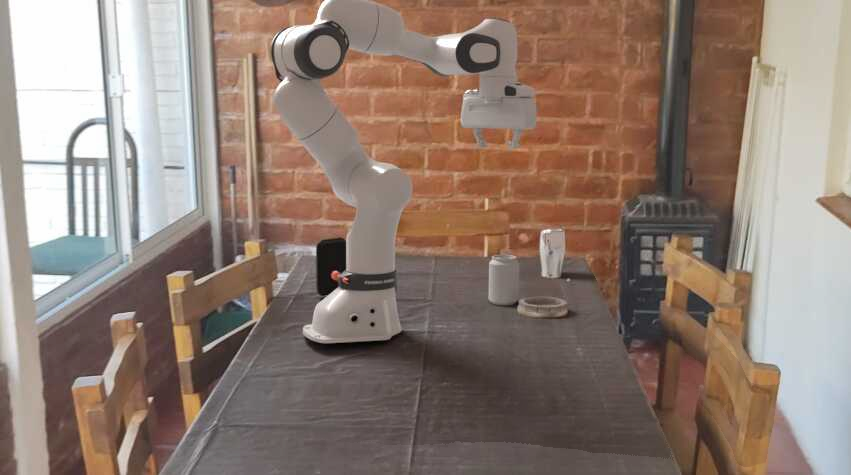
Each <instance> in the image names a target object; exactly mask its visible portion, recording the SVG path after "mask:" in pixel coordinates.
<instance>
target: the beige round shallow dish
mask: <svg viewBox="0 0 851 475" xmlns="http://www.w3.org/2000/svg"><path fill="white" fill-rule="evenodd" d="M517 312H518V314H520V315H523V316H526V317H533V318H542V319H543V318H544V319H546V318H547V319H549V318H550V319H551V318H559V317H565V316H567V315H568V302H567V301H566V300H564V299H561V298H559V297H552V296H542V295H541V296H527V297H526V296H525V297H522V298H520V299H519V298H518V305H517Z"/></svg>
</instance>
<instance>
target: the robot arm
mask: <svg viewBox="0 0 851 475" xmlns="http://www.w3.org/2000/svg"><path fill="white" fill-rule="evenodd" d="M516 30H517V29H516V28H515V25H514V24H513V23H512V22H511V21H509V20H506V19H502V18H495V17H489V18H485V19H483V21H481V23H479V24H478V25H477V26H475V27H473V28H471V29H469V30H465V32H458V33H440V34H436V35H432V36H429V35H425V34H422V33H419V32H416V31H413V30H409V29H406V27H405V21H404V18H403V16H402V15H401V14H400V12H398V11H396V10H395V9H394V8H391V7H390V6H387V5H385V4H382V3H378V2H375V1H372V0H324V1H323V2H322V3H321V5H320V6H319V9H318V11H317V14H316V20H315V21H314V22H313V23H312V24H300V25H299V24H298V25H293V26H287V27H285V28H283V29H281V30H280V31H279V32H277V34H276V35H274V37H273V39H272V41H271V44H270V52H269V53H270V57H271V61H272V63H273V68H274V70H275V75H276V78H277V80H278V81H279V82H280V83H279V84H278V86H276V89H275V91H274V93H273V96H272V102H273V105H274V108H275V110H276V112H277V114H278V115H279V117H280V118H281V120H282V121H283V123H284V125H285V126H286V127H287V128H288V130H289V131H290V132H291V134H293V136H294V137H295V139H296V140H297V141H299V144H301V145H302V146H303V147H304V149H305V150H306V151H307V152H308V153H309V154H310V156H311V157H312V159H314V160H315V161H316V162H317V164H318V165H319V166H320V168H321V170H322V171H323V173H324V174H325V176H326V177H327V180H328V181H329V182H330V185H331V188H332V191H333V193H334V194H335V196H336V197H337V199H340V200H341V201H342V202H344V203H345V204H346V205H348V206H350V207H355V208H356V210H355V211H356V212H355V216H354V220H353V224H352V226H351V229H350V230H349V231H348V232H347V235H346V238H345V241H346V270H345V271H344V272H342V273H340V272H338V271H333V273H332V275H331V276H333V277H332V279H334V280H336V281H338V286H339V287H338V288H336V289H335V290H334V291H333V292H332V293H330V294H329V295H327V296H325V297H324V298H323V299H322V300H321V301H319V302H317V304H316V305H315V308H314V310H313V314H312V315H313V316H312V323H311V324H305V325H304V326H303V327H302V334H303V336H305V337H306V338H307V339H309V340H311V341H313V342H315V343H320V344H336V343H339V344H340V343H355V342H356V343H357V342H373V341H376V342H377V341H387V340H390V339H391V338H392V337H393V336H396V335H398V334H400V333H401V332H402V330H403V329H402V326H401V323H400V318H399V313H398V307H397V299H396V298H397V296H396V293H397V286H398V275H397V273H398V272H397V269H396V267H395V266H396V265H395V262H396V236H397V230H398V226H399V222H400V219H401V215H402V212H403V210H404V209H405V208H406V206H407V205H408V204H409V203H410V201H411V198H412V195H413V189H414V188H413V182H412V179H411V177H410V176H409V174H408V173H407V172H406V171H405V170H403V169H402V168H400V167H398V166H396V165H395V164H392V163H388V162H383V161H382V162H381V161H377V160H375V159H373V158H372V157H370V156H369V155H368V154H367V152H366V151H365V149H364V147H363V146H362V143H361V140H360V139H359V138H360V137H359V136H360V135H359V132H358V130H357V129H356V128H355V127H354V125H353V124H352V123H351V122H350V121H349V119H348V118H347V116H346V115H345V114H344V113H343V112H342V111H341V109H339V107H338V106H337V105H336V104H335V103H334V102H333V100H332V99H331V98H330V97H329V96H328V95H327V92H326V91H325V89H324V87H323V83H322V79H325V78H328V77H330V76H332V75H334V74H336V73H337V72H338V71H339V69H341V67H342V65H343V63H344V60H345V57H346V53H348V52H347V51H348V50H352V51H354V52H359V53H362V54H367V55H372V56H373V55H374V56H382V57H383V56H385V57H388V56H390V57H391V56H398V57H401V58H405V59H408V60H411V61H415V62H418V63H421V64H422V65H424V66H425V67H426V68H427V69H429V70H430V71H431V72H433V73H434V74H436V75H437V76H440V77H452V76H470V75H476V74H479V88H478V89H468V90H467V91H465V92H464V94H463V95H462V105H461V115H460V125H461V126H462V127H463V128H467V129H470V128H471V129H472V134H473V135H474V137H475V140H476V146H477V148H485V147H487V139H484V137H483V135H482V134H483V132H484V129H495V130H496V129H500V130H512V134H513V135H514V136H513V138H512V139H511V140H510V141H508V149H510V150H518V148H519V141H520V140H521V137H522V136H523V134H524V133H523V130H534V129H535V127H536V126H537V125H538V124H537V122H538V120H537V118H538V114H537V113H538V112H537V110H538V109H537V103H536V100H535V99H534V97H535V95H536V89H535V88H534V87H532V86H530V85H527V84H524V83H522V82H519V81H518V80H517V79H518V74H517V70H516V66H517V65H516V63H517V60H518V35H517V31H516Z"/></svg>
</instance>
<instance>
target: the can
mask: <svg viewBox="0 0 851 475" xmlns="http://www.w3.org/2000/svg"><path fill="white" fill-rule="evenodd" d="M491 258H492V259H491V260H490V261H489V262H488V264H489V265H488V296H487V297H488V300H489V302H490V303H491V304H493V305H496V306H512V305H515V304H516V303H517V302H519V292H520V291H519V289H520V287H519V285H520V283H519V281H520V262H519V261H518V260H517V258H518V257H517V256H516V255H511V254H494V255H492V256H491Z"/></svg>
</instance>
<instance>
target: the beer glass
mask: <svg viewBox="0 0 851 475" xmlns="http://www.w3.org/2000/svg"><path fill="white" fill-rule="evenodd" d="M565 232H566V230H563V229H559V228H558V229H557V228H547V229H546V228H545V229H541V230H540V237H539V256H540V264H541V277H544V278H547V279H557V278H560V277H562V267H563V262H564V258H565V250H566V234H565Z"/></svg>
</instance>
